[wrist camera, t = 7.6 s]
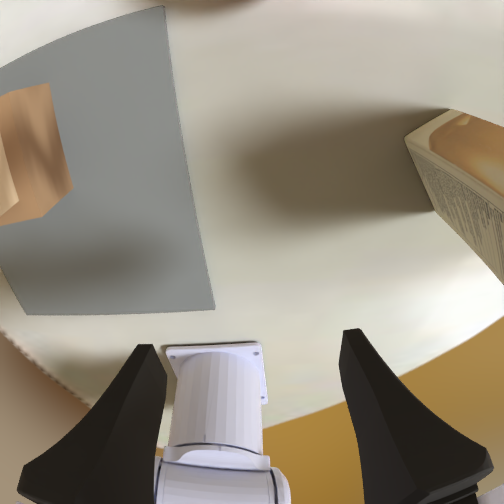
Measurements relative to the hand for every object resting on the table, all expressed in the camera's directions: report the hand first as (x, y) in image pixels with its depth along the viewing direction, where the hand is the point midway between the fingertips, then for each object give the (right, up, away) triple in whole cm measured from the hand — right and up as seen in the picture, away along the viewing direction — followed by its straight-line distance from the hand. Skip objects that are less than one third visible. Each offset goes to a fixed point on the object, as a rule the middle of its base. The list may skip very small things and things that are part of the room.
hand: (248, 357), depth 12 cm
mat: (-12, +8, +7) cm, 16 cm away
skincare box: (+12, +10, +6) cm, 17 cm away
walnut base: (-15, +11, +4) cm, 19 cm away
